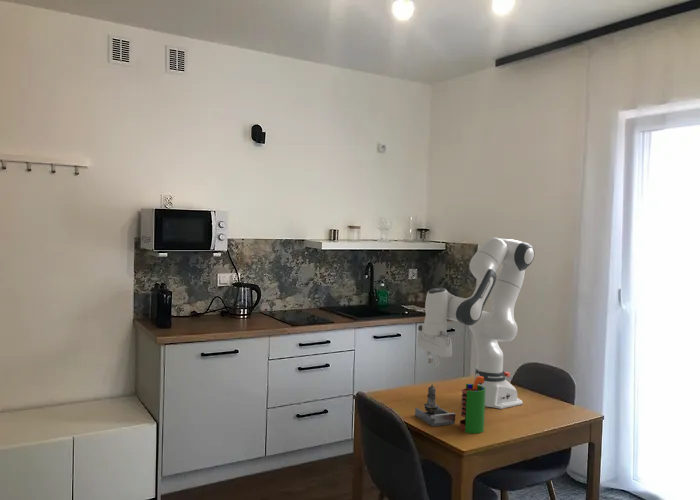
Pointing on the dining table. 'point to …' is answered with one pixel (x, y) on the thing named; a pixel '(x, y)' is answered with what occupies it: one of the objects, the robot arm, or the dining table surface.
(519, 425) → the dining table surface
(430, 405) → the grey tall turned piece
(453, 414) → the grey open frame
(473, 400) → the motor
